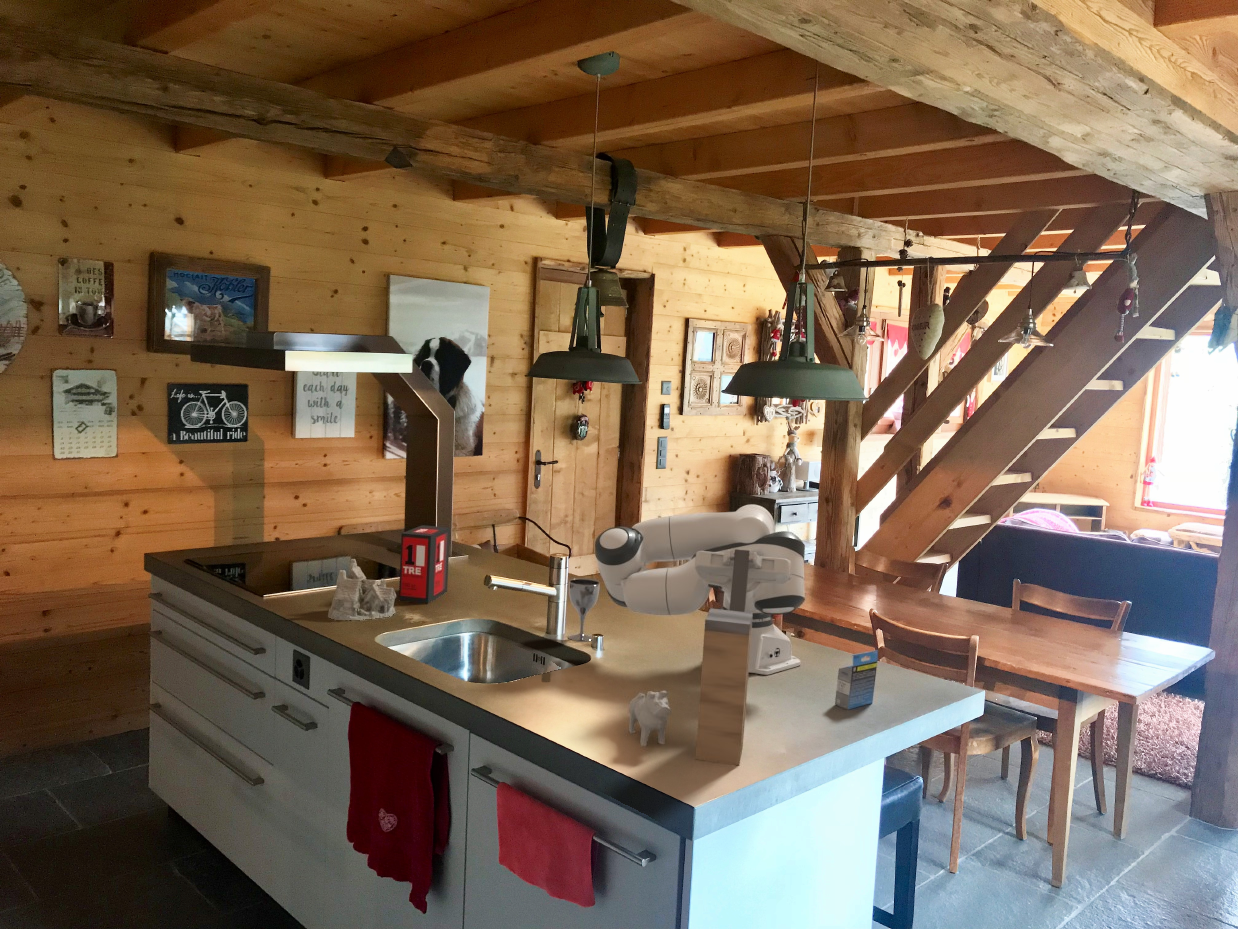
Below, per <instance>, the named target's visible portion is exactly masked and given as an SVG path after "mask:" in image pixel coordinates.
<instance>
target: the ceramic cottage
mask: <svg viewBox="0 0 1238 929" xmlns="http://www.w3.org/2000/svg"><path fill="white" fill-rule="evenodd" d="M335 586H336V587H335V592H334V596H333V597H332V603H331V607H330V608H329V609H328V614H327V618H328V617H329V618H331V619H335V620H334V621H336V620H360V621H366V620H365V619H372V620H376V619H375V618H382V619H384V618H383V617H389V616H390V617H392V616H393V614H394V613H395V614H396V610H395V606H394V604H395V599H396V598H397V594H396V591H395V589H394V587H387V585H386V579H385V578H381V579H379V580H377V581H376V580H375V579H367V577H366V576H365V574H364V572H363V571H362V569H361V567H360V566H358V564H357V561H356V559H355V558H351V559H350V564H349V573H348V574H347V572H346V569H345V570H344V569H343V570H341V569H340V570H339V571H338V576H337V580H336V585H335ZM395 614H394V615H395ZM390 617H389V618H390ZM329 618H328V619H329ZM331 619H330V620H331ZM363 619H364V620H363Z"/></svg>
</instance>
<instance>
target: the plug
mask: <svg viewBox="0 0 1238 929" xmlns="http://www.w3.org/2000/svg"><path fill="white" fill-rule="evenodd" d="M749 552H750V551H749V550H738V549H735V557H734V567H733V578H732V589H731V600H730V611H740V612H745V604H746V593H747V582H748V570H749Z"/></svg>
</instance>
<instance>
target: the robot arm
mask: <svg viewBox="0 0 1238 929" xmlns="http://www.w3.org/2000/svg"><path fill="white" fill-rule="evenodd" d="M735 549H738V550H749V551H750V552H749V570H748V582H747V593H746V604H745V612H749V613H753V618H752V632H751V645H750V658H749V672H748V673H751V674H759V675H765V676H767V675H771V674H775V673H778V672H781V671H786V670H788V669H792V668H795V667H799V666H801V662H802V661H801V659H799V658H797V657H796V656H794V655H792V654H793V652H792V650H793V648H792V642H791V639H790V638H789V637H788V636H787V635H786V634H785V633H784V632H782V630H780V629H779V628H778V627H777V626H776V625H775V624H774V620H773V619H776V620H780V619H781V618H782V615H787V614H791V613H793V612H794V611H796V610H798V608H800V607H801V606H802V605H803V604H804V602H805V601H806V596H805V595H806V592H805V591H806V589H805V588H806V587H805V563H804V562H805V555H806V554H805V553H806V552H805V551H806V550H805V549H806V546H805V543H804V542H803V541H802V540H801V538H799V537H798V536H797V535H796V534H794V532H792V531H789V530H788V531H786V530H785V531H783V530H781V531H775V521H774V517H773V516H772V514H771V513H770V511H768V510H767V509H766V507H763V506H762V505H758V504H746V505H743V506H741V507H739V508H737V510H736V511H726V512H694V513H685V514H678V515H677V514H676V515H668V516H661V517H660V516H659V517H656V518H651V519H648V520H647V519H646V520H644V521H640V522H637V523H636V524H634V525H632V526H631V527H630V526H615V527H610V528H607V529H605V530H604V531H601V533H600V534H598V535H597V537H596V538H595V542H594V555H595V558H596V562H597V568H598V572H599V574H600V577H601V579H602V580H603V583H604V585H605V587H606V592H607V594H608V596H609V597H610V599H611V601H612V602H613V603H614V604H615V605H617V606H620V607H623V608H628V609H629V610H630V611H632V612H633V613H637V614H642V615H643V614H644V615H652V616H684V615H690V614H693V613H695V612H696V611H698V610H699V609H700V608H701V607H702V606H703V605H704V604H705V602H707V600H708V598H709V596H710V593H711V590H712V589H716V590H719V591H722V592H723V604H722V605H721V608H720V609H721V610H730V600H731V589H732V578H733V567H734V557H735ZM683 560H688V561H687V562H685V563H683V564H681V565H678V566H673V567H662V568H661V567H660V568H654V569H653V568H652V569H650V568H647V566H648V565H649V564H651V563H654V562H673V561H675V562H676V561H683Z"/></svg>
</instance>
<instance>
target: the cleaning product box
mask: <svg viewBox="0 0 1238 929" xmlns="http://www.w3.org/2000/svg"><path fill="white" fill-rule="evenodd" d="M450 536H451V527H445V526H435V525H419V526H417V527H414V528H412V529H409V530H407V531H405V532H401V540H400V541H401V544H400V560H399V562H400V566H399V583H398V584H399V587H398V588H399V590H398V601H399V600H400V601H399V602H401V601H409V602H408V603H411V602H417V603H416V604H421V603H425V604H424V605H429V604H431V603H432V602H434V601H435V600H437V599H438V597H439V596H440V597H442V596H443V595H445V594H446V593H445V592H447V593H448V583H449V582H448V579H449V578H448V576H449V561H450V560H449V559H450V558H449V557H450V556H449V555H450V539H451V538H450ZM444 593H445V594H444ZM441 595H442V596H441ZM440 597H439V598H440ZM436 598H437V599H436ZM433 600H434V601H433ZM431 601H432V602H431ZM430 602H431V603H430ZM428 603H429V604H428Z"/></svg>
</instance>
